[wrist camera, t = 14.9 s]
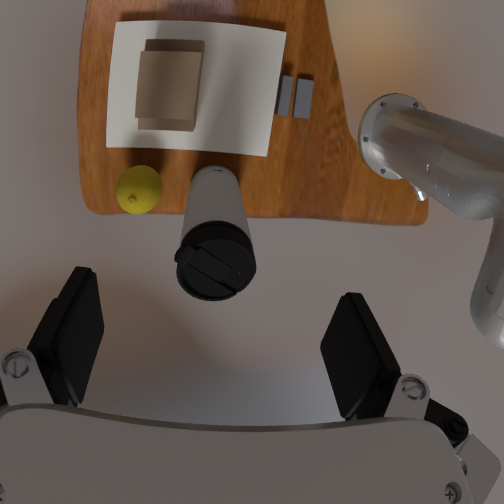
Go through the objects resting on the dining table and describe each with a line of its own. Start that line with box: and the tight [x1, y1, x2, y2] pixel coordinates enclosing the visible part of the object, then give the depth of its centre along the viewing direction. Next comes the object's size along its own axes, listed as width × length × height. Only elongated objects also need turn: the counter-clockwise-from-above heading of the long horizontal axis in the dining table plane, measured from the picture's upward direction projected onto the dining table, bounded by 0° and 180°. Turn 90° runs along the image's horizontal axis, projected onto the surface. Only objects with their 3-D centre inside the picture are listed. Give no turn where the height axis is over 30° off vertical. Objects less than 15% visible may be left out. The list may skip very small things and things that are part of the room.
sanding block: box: [135, 39, 205, 132], centre depth 29 cm, size 6×10×6 cm, turn 172°
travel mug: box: [174, 165, 256, 301], centre depth 32 cm, size 6×7×20 cm
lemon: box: [116, 165, 162, 214], centre depth 35 cm, size 6×6×8 cm
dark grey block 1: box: [275, 75, 294, 116], centre depth 34 cm, size 2×5×1 cm
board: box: [106, 20, 287, 157], centre depth 33 cm, size 20×16×2 cm
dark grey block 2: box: [292, 78, 314, 119], centre depth 35 cm, size 2×5×1 cm, turn 174°
